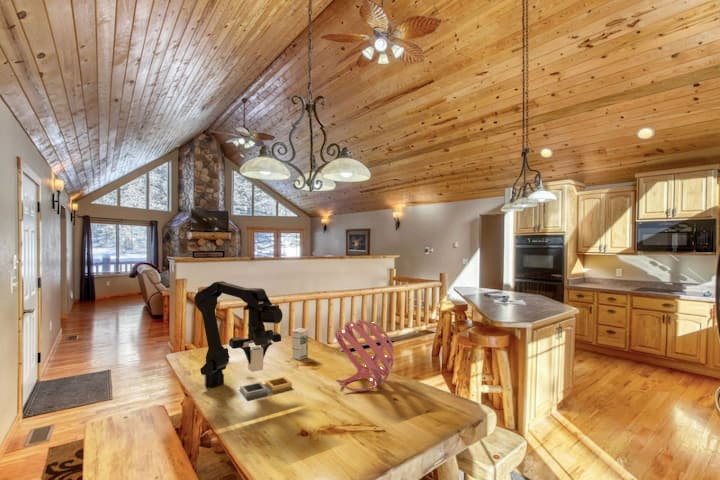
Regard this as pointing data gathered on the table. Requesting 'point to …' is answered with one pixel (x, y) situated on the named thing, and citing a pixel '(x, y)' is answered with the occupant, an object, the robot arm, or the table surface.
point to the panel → (266, 388)
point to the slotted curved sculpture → (370, 361)
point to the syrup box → (299, 344)
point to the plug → (256, 359)
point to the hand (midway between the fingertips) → (255, 362)
